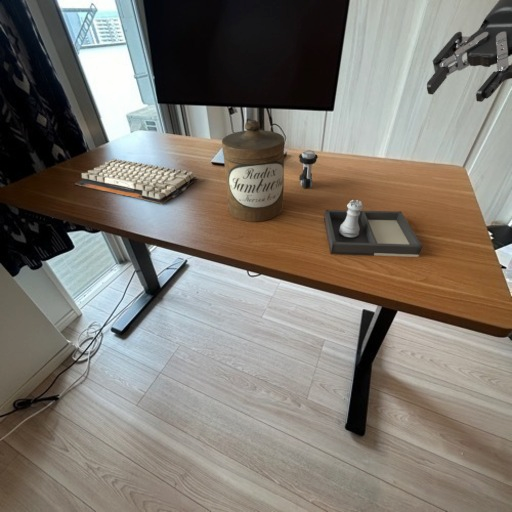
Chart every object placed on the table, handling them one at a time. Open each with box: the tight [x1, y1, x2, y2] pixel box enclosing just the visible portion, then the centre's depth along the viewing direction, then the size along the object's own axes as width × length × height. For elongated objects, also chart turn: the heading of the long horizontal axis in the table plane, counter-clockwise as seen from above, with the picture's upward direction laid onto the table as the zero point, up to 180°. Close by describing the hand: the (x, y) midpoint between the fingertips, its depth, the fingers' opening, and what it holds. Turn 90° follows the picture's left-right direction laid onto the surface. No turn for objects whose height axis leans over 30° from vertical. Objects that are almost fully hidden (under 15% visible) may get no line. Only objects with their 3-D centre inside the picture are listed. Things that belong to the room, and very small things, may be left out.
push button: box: [298, 150, 319, 190], centre depth 81 cm, size 7×5×10 cm
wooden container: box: [221, 119, 285, 222], centre depth 67 cm, size 15×15×22 cm
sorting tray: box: [323, 209, 424, 258], centre depth 61 cm, size 18×14×3 cm
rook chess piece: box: [339, 199, 364, 238], centre depth 60 cm, size 4×4×8 cm
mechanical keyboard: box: [73, 158, 197, 205], centre depth 88 cm, size 38×19×3 cm, turn 66°
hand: (452, 94), depth 46 cm, fingers open, 8 cm apart
